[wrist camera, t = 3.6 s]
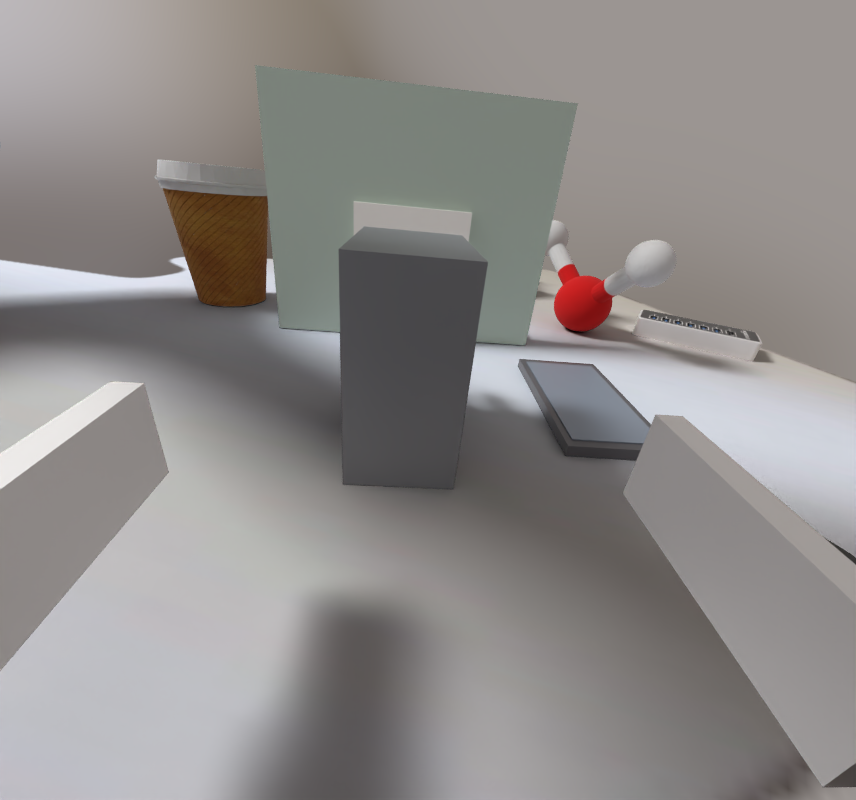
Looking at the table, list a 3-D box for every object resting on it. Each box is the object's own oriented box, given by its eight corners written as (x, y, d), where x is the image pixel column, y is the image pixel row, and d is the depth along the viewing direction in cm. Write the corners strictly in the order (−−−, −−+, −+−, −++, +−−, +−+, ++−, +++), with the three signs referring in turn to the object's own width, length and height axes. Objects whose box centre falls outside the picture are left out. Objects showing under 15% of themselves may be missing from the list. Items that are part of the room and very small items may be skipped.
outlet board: (276, 331, 34) (250, 61, 25) (297, 308, 40) (281, 85, 31) (527, 349, 35) (582, 101, 27) (510, 325, 42) (551, 116, 33)
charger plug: (342, 484, 18) (338, 249, 13) (365, 385, 27) (368, 223, 22) (453, 489, 18) (488, 262, 13) (439, 389, 27) (458, 231, 22)
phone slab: (562, 464, 22) (568, 444, 21) (516, 372, 32) (519, 358, 32) (669, 470, 22) (678, 451, 21) (589, 377, 32) (593, 363, 32)
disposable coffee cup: (300, 301, 42) (292, 173, 37) (213, 318, 35) (186, 162, 30) (248, 283, 47) (233, 167, 41) (161, 295, 40) (129, 156, 34)
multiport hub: (634, 328, 46) (641, 308, 45) (746, 353, 42) (757, 332, 40) (630, 337, 43) (637, 316, 42) (751, 366, 38) (763, 343, 37)
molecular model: (511, 306, 48) (528, 217, 44) (550, 306, 50) (570, 220, 45) (613, 364, 34) (654, 240, 29) (662, 361, 36) (708, 243, 31)
